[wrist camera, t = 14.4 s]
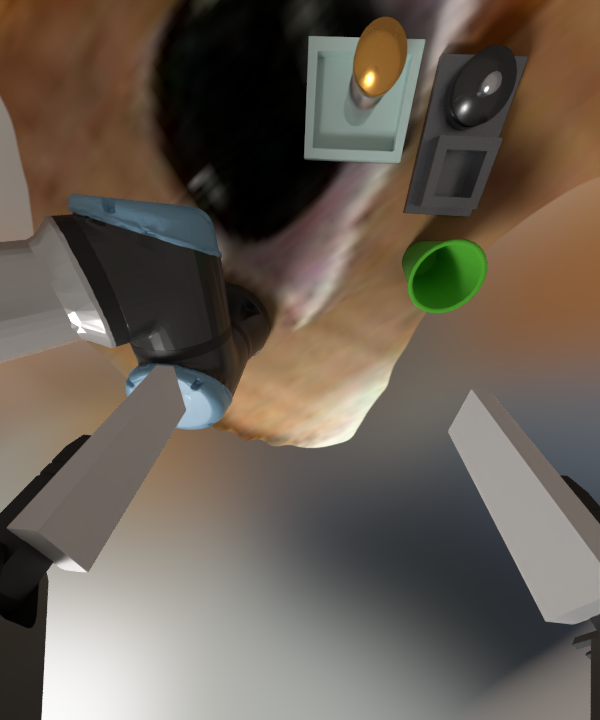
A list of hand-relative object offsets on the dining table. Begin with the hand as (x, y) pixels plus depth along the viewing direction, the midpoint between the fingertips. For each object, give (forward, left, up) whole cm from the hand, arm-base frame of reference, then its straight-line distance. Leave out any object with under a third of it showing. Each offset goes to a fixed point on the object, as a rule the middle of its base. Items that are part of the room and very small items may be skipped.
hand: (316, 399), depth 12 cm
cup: (+16, -1, -35) cm, 38 cm away
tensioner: (+16, +13, -35) cm, 40 cm away
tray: (+3, +16, -35) cm, 38 cm away
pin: (+3, +16, -34) cm, 38 cm away
